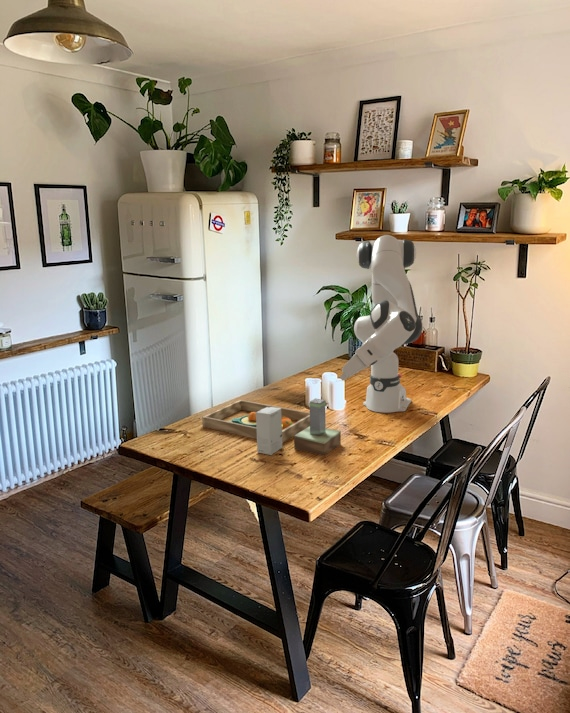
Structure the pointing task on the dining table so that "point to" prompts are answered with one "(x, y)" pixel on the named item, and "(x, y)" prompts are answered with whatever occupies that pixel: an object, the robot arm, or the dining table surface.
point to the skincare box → (269, 430)
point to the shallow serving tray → (216, 423)
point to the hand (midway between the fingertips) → (348, 374)
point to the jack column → (317, 417)
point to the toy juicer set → (251, 420)
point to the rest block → (317, 441)
